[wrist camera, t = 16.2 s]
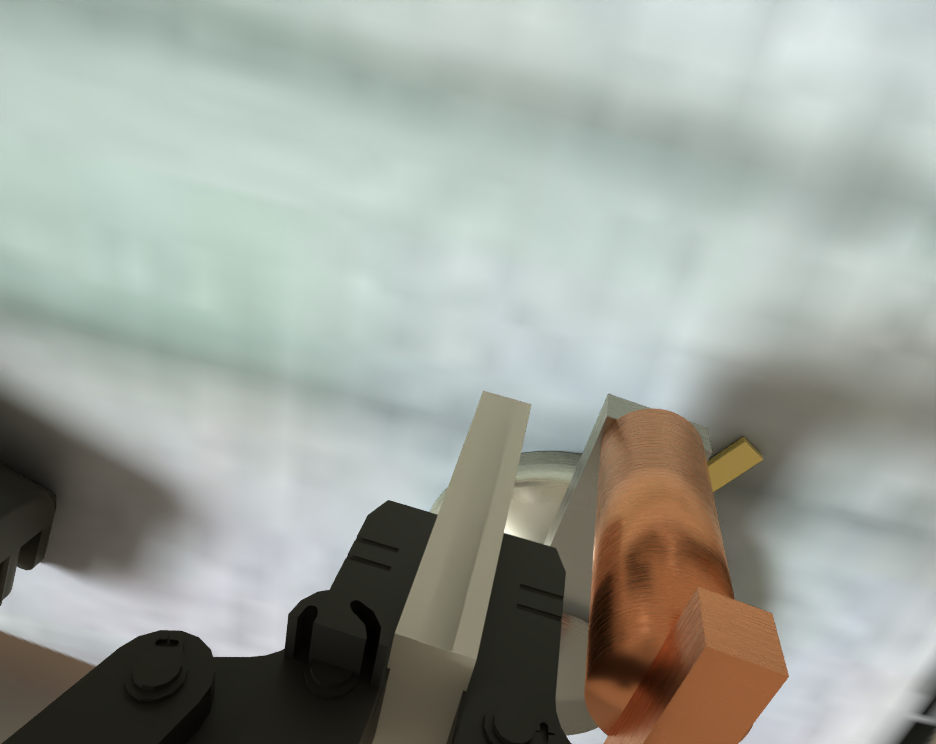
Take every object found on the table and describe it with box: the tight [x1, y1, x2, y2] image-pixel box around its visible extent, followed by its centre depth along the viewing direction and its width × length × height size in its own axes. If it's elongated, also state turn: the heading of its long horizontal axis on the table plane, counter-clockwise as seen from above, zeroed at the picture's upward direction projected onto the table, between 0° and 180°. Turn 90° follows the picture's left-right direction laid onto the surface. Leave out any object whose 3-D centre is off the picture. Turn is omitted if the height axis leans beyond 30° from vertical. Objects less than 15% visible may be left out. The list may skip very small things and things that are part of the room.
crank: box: [544, 394, 789, 744], centre depth 15 cm, size 12×4×10 cm, turn 165°
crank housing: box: [430, 436, 763, 544], centre depth 22 cm, size 10×12×2 cm
